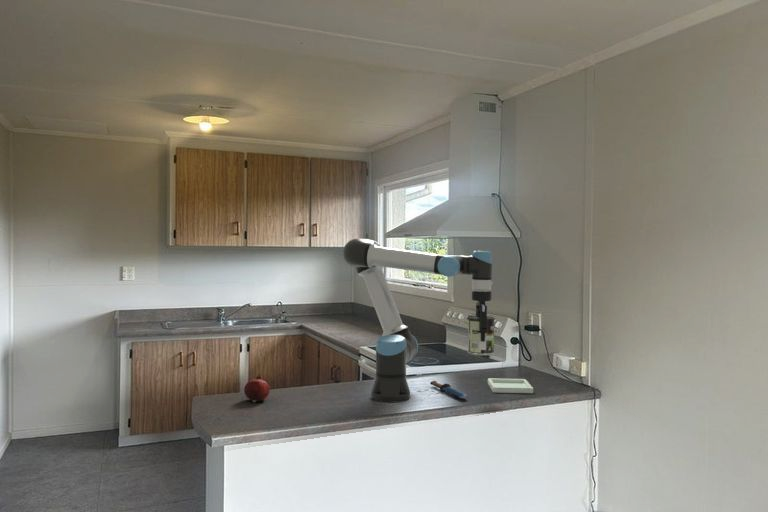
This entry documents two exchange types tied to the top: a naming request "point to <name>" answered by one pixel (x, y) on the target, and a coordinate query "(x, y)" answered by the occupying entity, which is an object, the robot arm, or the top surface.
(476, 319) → the coffee can
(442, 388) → the knife
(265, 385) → the fruit
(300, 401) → the top surface
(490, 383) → the tray
